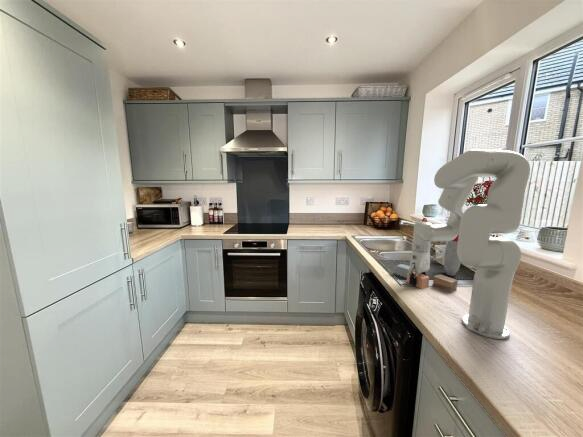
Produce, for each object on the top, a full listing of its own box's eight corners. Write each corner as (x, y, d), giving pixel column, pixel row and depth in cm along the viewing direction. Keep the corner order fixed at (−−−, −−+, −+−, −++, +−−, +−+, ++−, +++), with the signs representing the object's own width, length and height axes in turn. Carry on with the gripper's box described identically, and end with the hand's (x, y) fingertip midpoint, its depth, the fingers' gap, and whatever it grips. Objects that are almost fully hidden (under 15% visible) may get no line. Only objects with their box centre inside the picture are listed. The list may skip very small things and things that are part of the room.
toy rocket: (463, 277, 122) (470, 230, 118) (447, 276, 123) (453, 230, 119) (454, 271, 130) (460, 227, 126) (439, 271, 130) (444, 227, 126)
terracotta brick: (421, 289, 109) (422, 279, 108) (406, 282, 116) (407, 272, 115) (428, 287, 111) (429, 277, 110) (413, 280, 118) (414, 271, 117)
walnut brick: (450, 293, 105) (452, 282, 105) (432, 286, 112) (433, 276, 111) (456, 290, 108) (457, 280, 107) (438, 283, 115) (439, 274, 114)
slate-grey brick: (410, 279, 119) (411, 270, 118) (395, 274, 125) (396, 265, 125) (415, 277, 122) (416, 268, 121) (400, 272, 128) (401, 263, 128)
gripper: (419, 252, 103) (415, 290, 106) (438, 246, 112) (434, 281, 115) (402, 248, 109) (399, 284, 112) (422, 243, 118) (419, 276, 121)
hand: (417, 282), depth 113 cm, fingers open, 7 cm apart
